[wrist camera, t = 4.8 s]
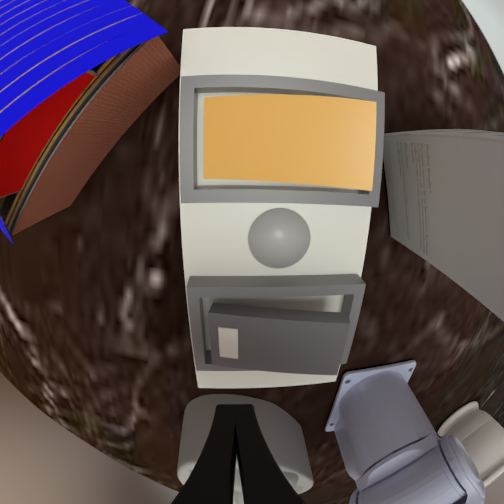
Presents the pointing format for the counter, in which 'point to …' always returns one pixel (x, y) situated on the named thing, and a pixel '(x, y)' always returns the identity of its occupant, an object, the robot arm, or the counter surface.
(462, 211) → the supplement box
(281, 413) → the lumpy-topped squat cylinder
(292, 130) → the amber rocker
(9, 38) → the house
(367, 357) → the counter surface
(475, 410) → the jar
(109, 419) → the counter surface
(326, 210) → the cream switch panel
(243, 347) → the charcoal rocker
